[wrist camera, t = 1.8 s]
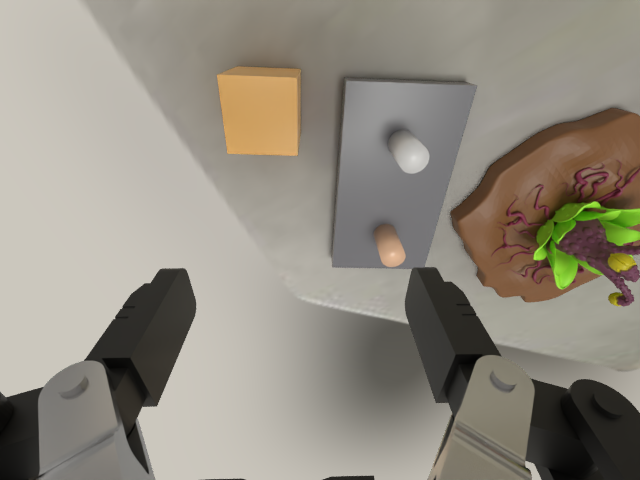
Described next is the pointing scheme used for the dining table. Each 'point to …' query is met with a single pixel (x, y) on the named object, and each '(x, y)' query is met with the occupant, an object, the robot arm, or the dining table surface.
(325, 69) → the dining table surface
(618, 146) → the plant
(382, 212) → the board
